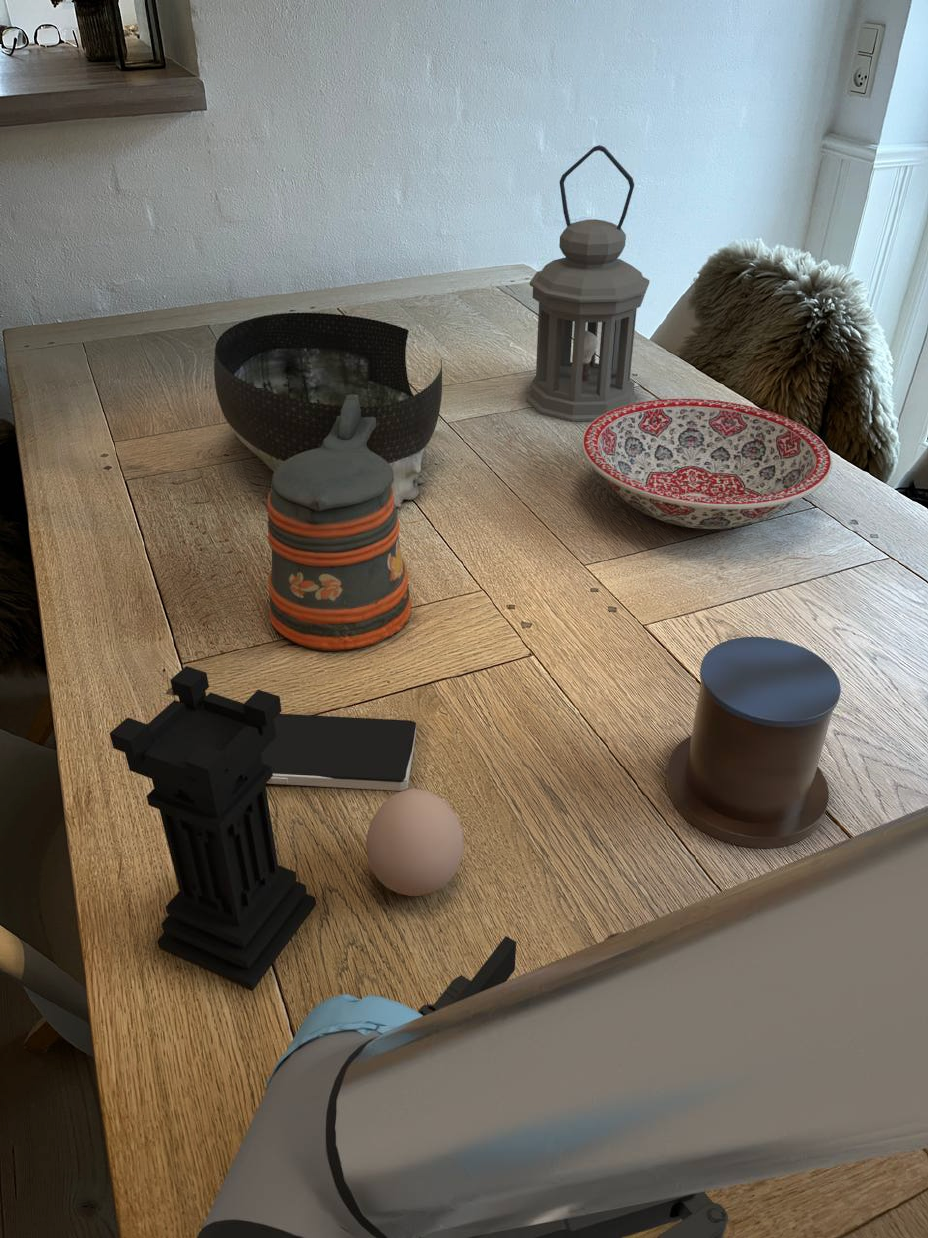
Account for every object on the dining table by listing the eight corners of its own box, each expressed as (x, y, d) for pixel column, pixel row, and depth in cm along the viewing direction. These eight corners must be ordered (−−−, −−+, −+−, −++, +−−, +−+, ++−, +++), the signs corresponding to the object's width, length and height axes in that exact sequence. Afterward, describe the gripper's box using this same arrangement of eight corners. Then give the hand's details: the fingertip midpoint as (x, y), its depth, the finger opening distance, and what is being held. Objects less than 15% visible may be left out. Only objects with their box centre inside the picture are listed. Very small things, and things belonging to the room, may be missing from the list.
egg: (363, 916, 73) (356, 837, 68) (375, 841, 79) (369, 764, 74) (461, 920, 73) (461, 841, 68) (466, 845, 79) (466, 767, 74)
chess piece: (158, 947, 71) (99, 735, 59) (227, 868, 77) (185, 660, 65) (252, 990, 68) (209, 776, 57) (316, 904, 74) (288, 694, 62)
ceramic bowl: (806, 462, 133) (818, 406, 129) (832, 579, 110) (848, 515, 105) (586, 446, 137) (590, 390, 133) (567, 556, 114) (571, 493, 109)
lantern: (635, 380, 157) (660, 135, 137) (640, 424, 143) (668, 159, 123) (528, 376, 158) (537, 132, 138) (523, 419, 145) (532, 157, 124)
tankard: (294, 551, 115) (275, 385, 103) (421, 555, 114) (416, 388, 103) (256, 650, 99) (229, 468, 88) (403, 655, 99) (395, 472, 87)
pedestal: (860, 808, 82) (896, 694, 75) (743, 873, 76) (771, 756, 69) (745, 718, 91) (768, 610, 84) (633, 771, 85) (648, 659, 78)
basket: (424, 404, 149) (422, 295, 140) (458, 519, 121) (457, 392, 111) (230, 416, 146) (215, 304, 136) (218, 537, 117) (197, 406, 108)
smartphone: (406, 783, 83) (227, 773, 83) (407, 794, 83) (229, 784, 84) (416, 719, 89) (250, 710, 90) (416, 729, 90) (251, 721, 91)
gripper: (196, 1235, 52) (435, 947, 66) (635, 1613, 40) (809, 1165, 54) (171, 1162, 47) (433, 870, 62) (655, 1561, 36) (839, 1089, 50)
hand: (610, 1008), depth 58 cm, fingers open, 13 cm apart
